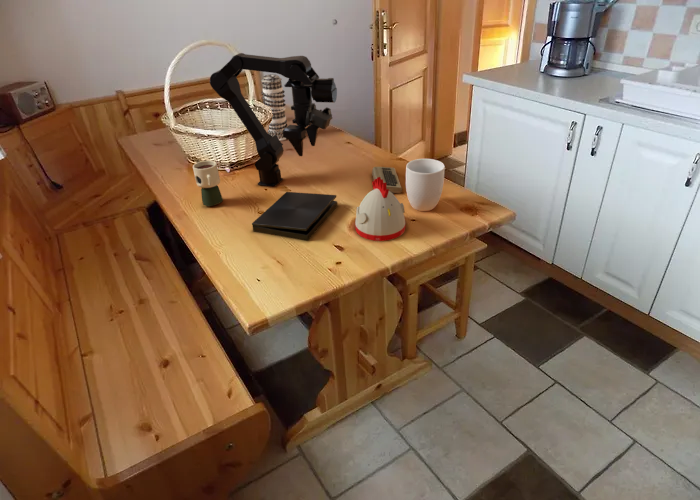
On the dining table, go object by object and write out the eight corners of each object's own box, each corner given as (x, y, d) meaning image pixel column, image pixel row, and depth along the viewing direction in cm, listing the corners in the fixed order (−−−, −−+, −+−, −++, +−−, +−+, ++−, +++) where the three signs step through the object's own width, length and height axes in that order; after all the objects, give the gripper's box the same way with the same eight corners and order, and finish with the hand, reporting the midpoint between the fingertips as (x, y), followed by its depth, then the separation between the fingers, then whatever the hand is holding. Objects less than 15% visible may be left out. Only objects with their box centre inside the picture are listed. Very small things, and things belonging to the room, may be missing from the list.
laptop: (337, 206, 144) (336, 200, 143) (307, 241, 128) (307, 234, 127) (287, 199, 149) (287, 193, 148) (253, 231, 133) (252, 225, 132)
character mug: (198, 199, 152) (189, 161, 145) (220, 194, 154) (212, 156, 147) (205, 213, 144) (195, 173, 136) (228, 207, 146) (220, 168, 139)
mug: (402, 193, 150) (403, 154, 143) (437, 192, 149) (439, 152, 142) (406, 215, 137) (407, 174, 130) (444, 214, 137) (448, 172, 130)
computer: (402, 193, 149) (402, 183, 148) (376, 195, 149) (376, 185, 147) (395, 173, 163) (395, 164, 161) (371, 175, 162) (371, 166, 161)
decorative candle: (280, 142, 193) (272, 79, 180) (263, 139, 197) (254, 77, 184) (294, 136, 199) (287, 74, 186) (277, 132, 204) (269, 72, 190)
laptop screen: (336, 197, 142) (336, 194, 142) (306, 231, 126) (306, 228, 126) (287, 194, 148) (286, 191, 148) (252, 225, 132) (251, 223, 132)
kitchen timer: (368, 245, 124) (367, 194, 116) (347, 222, 135) (345, 174, 127) (414, 233, 129) (416, 182, 121) (390, 212, 140) (391, 164, 131)
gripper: (313, 112, 133) (318, 164, 141) (338, 95, 147) (341, 143, 156) (278, 109, 136) (285, 160, 145) (306, 93, 151) (310, 140, 159)
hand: (307, 150), depth 151 cm, fingers open, 9 cm apart
